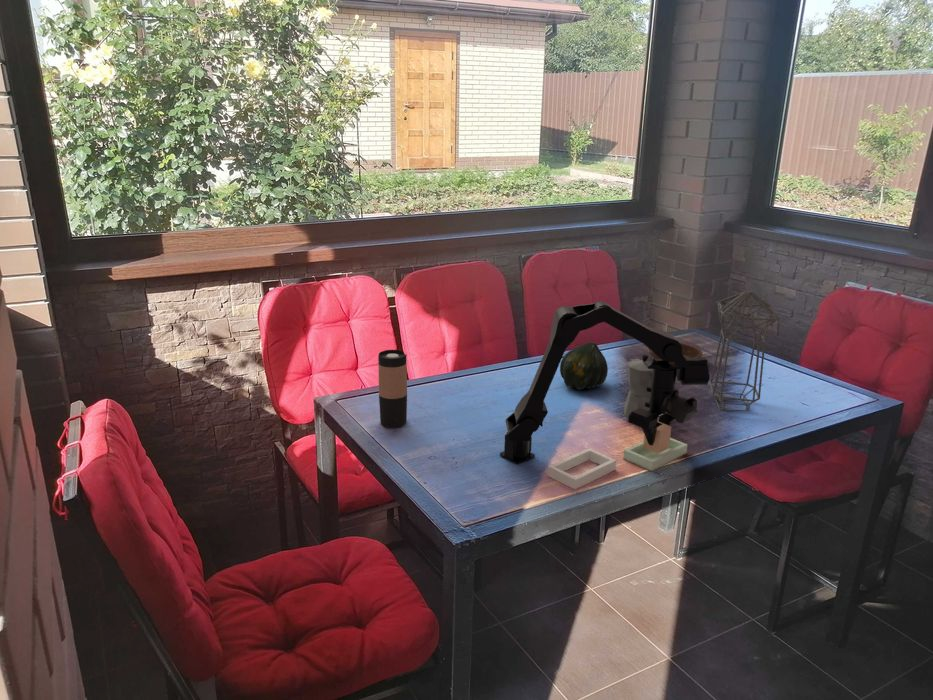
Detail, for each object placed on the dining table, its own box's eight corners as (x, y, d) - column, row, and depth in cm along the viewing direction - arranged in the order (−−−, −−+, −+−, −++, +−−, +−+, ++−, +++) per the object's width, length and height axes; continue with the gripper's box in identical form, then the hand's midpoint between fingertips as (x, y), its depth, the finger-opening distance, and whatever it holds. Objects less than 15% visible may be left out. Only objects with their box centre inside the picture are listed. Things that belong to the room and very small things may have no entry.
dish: (675, 377, 241) (676, 363, 239) (633, 356, 259) (634, 343, 258) (716, 370, 248) (718, 355, 246) (672, 350, 267) (673, 336, 265)
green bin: (651, 471, 179) (652, 462, 178) (623, 458, 185) (624, 449, 184) (686, 453, 189) (687, 444, 188) (658, 441, 195) (659, 433, 194)
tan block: (658, 453, 183) (660, 431, 181) (643, 447, 186) (645, 425, 184) (668, 448, 186) (671, 426, 184) (653, 442, 189) (656, 420, 187)
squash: (544, 369, 229) (576, 340, 221) (565, 358, 241) (596, 330, 233) (572, 405, 227) (606, 378, 218) (592, 392, 239) (625, 365, 230)
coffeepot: (613, 407, 216) (618, 349, 210) (641, 403, 219) (647, 346, 213) (641, 429, 202) (647, 367, 196) (671, 424, 205) (678, 363, 199)
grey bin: (574, 489, 170) (575, 479, 170) (547, 475, 176) (548, 466, 176) (615, 469, 180) (616, 460, 179) (588, 457, 186) (589, 448, 185)
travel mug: (374, 425, 201) (372, 356, 195) (387, 415, 208) (386, 347, 202) (399, 430, 199) (398, 360, 192) (412, 419, 206) (411, 351, 199)
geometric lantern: (702, 393, 227) (717, 283, 216) (756, 398, 224) (773, 286, 213) (707, 413, 212) (723, 296, 201) (765, 419, 210) (784, 300, 198)
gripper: (669, 404, 169) (661, 465, 174) (713, 385, 181) (705, 442, 186) (629, 389, 177) (623, 448, 182) (673, 372, 189) (667, 428, 194)
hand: (656, 442), depth 186 cm, fingers closed on tan block, 4 cm apart
